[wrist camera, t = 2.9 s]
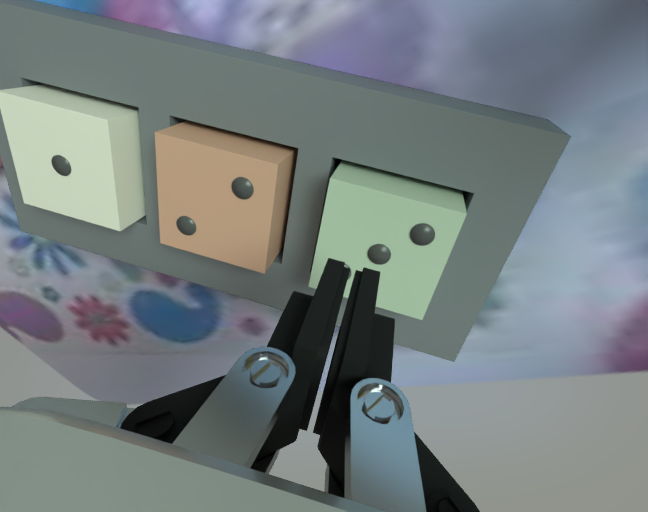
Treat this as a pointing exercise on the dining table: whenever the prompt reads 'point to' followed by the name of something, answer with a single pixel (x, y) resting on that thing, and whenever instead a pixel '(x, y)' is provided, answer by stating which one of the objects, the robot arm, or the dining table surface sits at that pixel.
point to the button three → (389, 233)
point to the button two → (223, 193)
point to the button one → (76, 153)
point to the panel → (292, 130)
